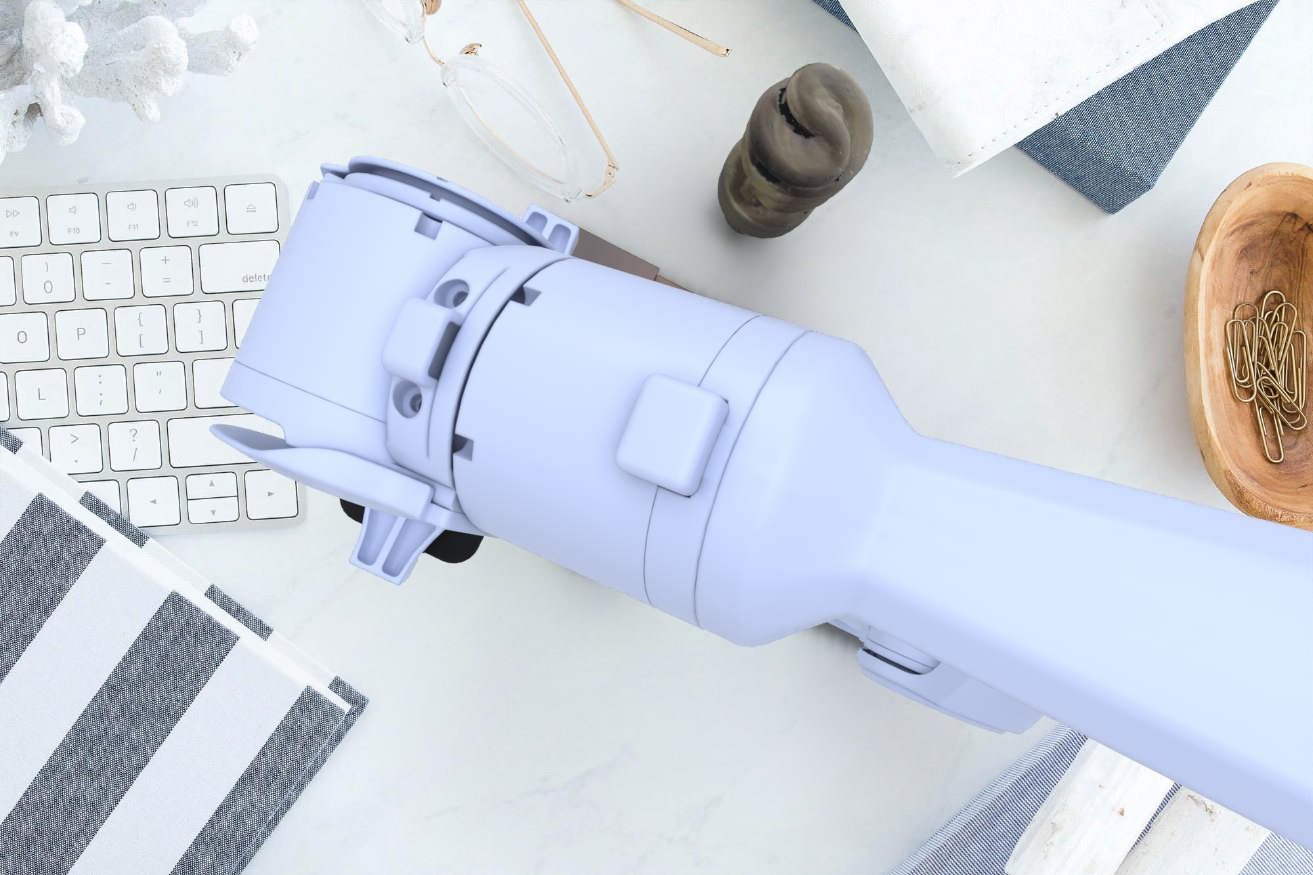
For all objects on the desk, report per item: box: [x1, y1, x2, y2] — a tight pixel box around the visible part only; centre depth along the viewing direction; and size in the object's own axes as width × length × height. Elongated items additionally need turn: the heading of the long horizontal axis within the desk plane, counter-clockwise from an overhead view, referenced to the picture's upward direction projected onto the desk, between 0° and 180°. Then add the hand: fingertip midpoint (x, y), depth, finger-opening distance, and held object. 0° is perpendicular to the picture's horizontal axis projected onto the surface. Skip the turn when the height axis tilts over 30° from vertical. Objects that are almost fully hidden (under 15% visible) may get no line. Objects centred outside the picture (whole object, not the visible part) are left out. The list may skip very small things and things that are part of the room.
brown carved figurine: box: [717, 62, 875, 240], centre depth 46 cm, size 6×6×15 cm
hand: (486, 406), depth 42 cm, fingers open, 7 cm apart
